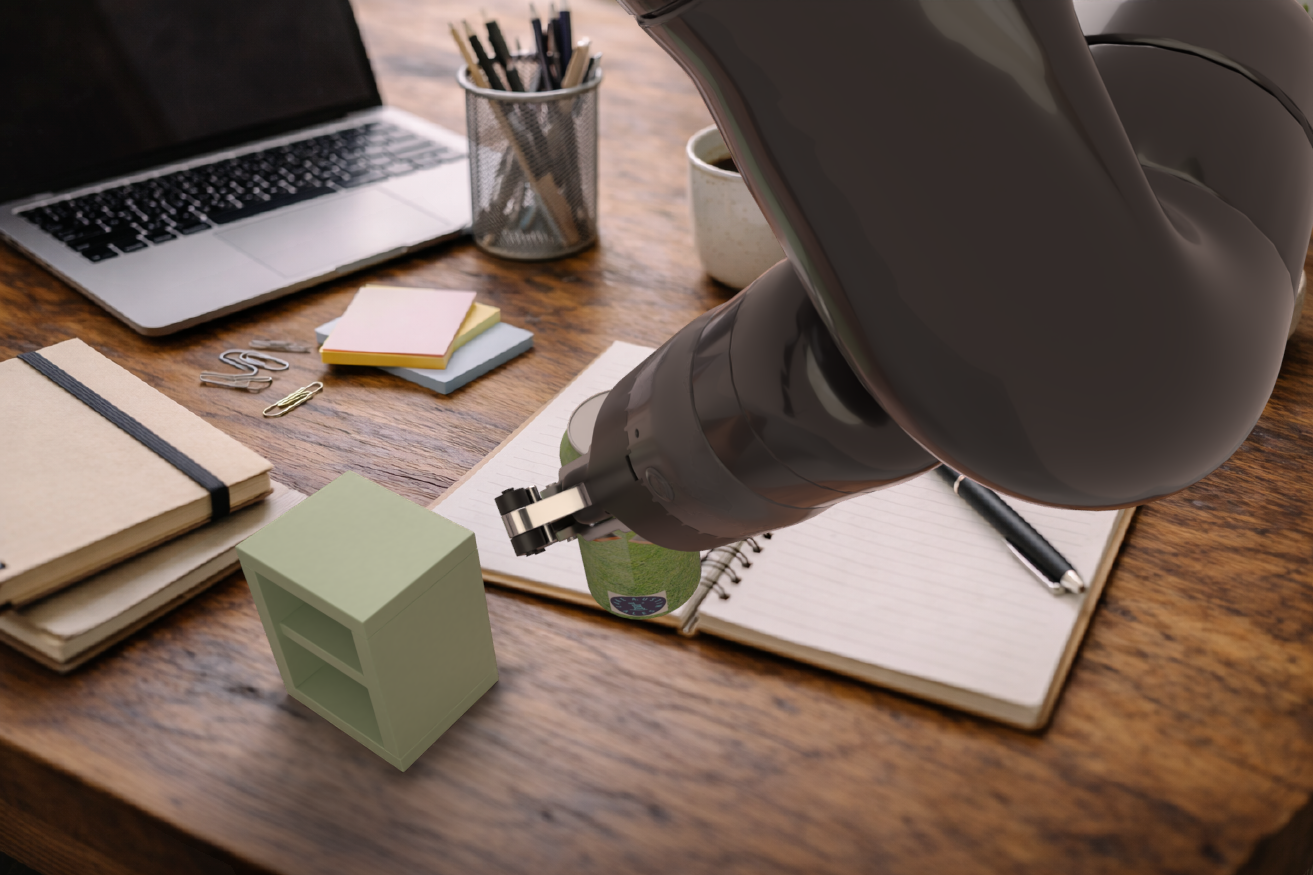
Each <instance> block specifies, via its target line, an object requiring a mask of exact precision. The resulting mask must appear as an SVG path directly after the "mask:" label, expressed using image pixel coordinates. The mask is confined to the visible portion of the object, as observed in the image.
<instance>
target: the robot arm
mask: <svg viewBox="0 0 1313 875" xmlns="http://www.w3.org/2000/svg"><path fill="white" fill-rule="evenodd" d="M615 1H616V2H617V3H618V5H619V6H620V7H621V8H622V9H623V10H624V11H625V12H626V13H627V14H628V15H629V16H632V17H633V18H634V20H635V21H636V23H637V25H638V27H639V28H640V29H641V30H643V31H644V33H646V35H648V36H649V38H651V39H652V40H653V41H654V42H655V43H656V44H657V46H659V47H660V48H661V49H662V50H663V51H664V52H665V53H666V54H667V55H668V56H669V57H670V58H671V59H672V60H673V61H674V62H675V63H676V64H677V65H678V66H679V67H680V68H681V70H682V71H683V72H684V74H685V75H686V76H687V78H688V79H689V80H690V82H691V83H692V85H693V86H694V88H695V90H696V91H697V93H698V94H699V96H700V98H701V100H702V102H703V103H704V105H705V107H706V109H707V112H708V113H709V115H710V117H711V119H712V121H713V122H714V124H715V126H716V128H717V131H718V132H719V134H720V137H721V139H722V141H723V143H724V145H725V147H726V149H727V151H728V153H729V155H730V157H731V159H732V161H733V163H734V165H735V167H736V169H737V171H738V174H739V175H740V177H741V179H742V181H743V183H744V185H745V186H746V188H747V190H748V191H749V194H750V196H751V197H752V199H753V200H754V202H755V204H756V206H757V207H758V209H759V210H760V212H761V213H762V215H763V217H764V219H765V221H766V223H767V224H768V226H769V227H770V229H771V231H772V233H773V235H774V237H775V239H776V240H777V243H778V244H779V246H780V247H781V250H782V251H783V253H784V257H782V258H780V259H778V261H777V262H774V264H772V265H771V266H770V267H768V268H767V269H766V270H765V271H764V272H762V273H761V274H760V275H759V276H757V277H756V278H755V279H754V280H752V281H751V282H750V283H748V284H747V285H746V286H745V287H744V288H743V289H741V290H740V291H739V292H738V293H737V294H735V295H734V296H733V297H732V298H730V299H729V300H727V301H726V302H723V303H721V304H719V305H716V306H715V307H712V308H711V309H708V310H707V311H705V312H704V313H701V314H700V315H699V316H697V317H695V318H694V319H693V320H691V321H690V322H688V323H687V324H686V325H685V326H683V327H682V328H680V330H678V331H677V332H676V333H675V334H673V335H672V336H671V337H670V338H669V339H667V340H666V341H665V342H664V343H662V345H660V346H659V347H658V348H657V349H656V350H654V351H653V352H652V353H651V354H650V355H649V356H647V357H646V358H644V359H643V360H642V361H641V362H640V363H639V364H637V366H635V367H633V368H632V370H630V371H629V372H628V373H626V375H624V376H623V377H622V378H621V379H620V380H619V381H617V383H616V384H615V385H614V386H613V387H612V388H611V389H612V390H611V391H610V392H609V394H608V395H607V397H606V398H605V400H604V402H603V404H602V406H601V408H600V410H599V413H598V415H597V418H596V421H595V425H594V430H593V435H592V442H591V445H590V446H589V450H588V452H587V453H586V454H584V455H583V456H581V457H579V458H577V459H575V460H574V461H572V462H570V463H568V464H566V465H565V466H563V467H562V466H561V467H560V468H559V469H558V474H557V475H558V481H557V482H551V483H549V484H547V485H545V488H544V489H542V490H541V491H539V490H538V487H537V485H535V484H533V485H529V486H528V487H519V488H514V487H509V488H506V489H504V490H502V491H501V492H500V493H501V495H498V496H496V497H495V498H493V500H494V502H495V505H496V507H497V510H498V513H499V515H500V518H501V521H502V524H503V525H504V528H505V531H506V533H507V536H508V539H509V541H510V543H511V546H512V549H513V551H514V554H515V556H516V557H517V558H518V557H524V556H525V557H526V558H527V557H530V556H533V555H534V556H537V555H539V554H542V553H544V552H546V551H547V550H546V548H548V547H550V546H552V545H554V544H556V543H561V542H564V541H567V543H570V542H573V541H575V540H578V537H577V535H579V534H580V535H581V536H582V537H583V538H584V539H585V540H586V541H588V542H590V541H593V540H595V539H598V538H600V537H603V536H605V535H607V534H610V533H612V532H615V531H617V530H620V531H622V532H623V533H628V532H630V531H633V532H634V533H636V534H637V535H639V536H640V537H642V538H643V539H645V540H647V541H649V542H651V543H653V544H655V545H658V546H661V547H663V548H667V549H671V550H676V551H684V552H697V551H700V552H704V551H710V550H713V549H718V548H721V547H725V546H728V545H731V544H734V543H739V542H741V541H745V540H749V539H752V538H756V537H758V536H762V535H764V534H765V535H766V534H768V533H772V532H775V531H779V530H782V529H786V528H790V527H793V526H796V525H799V524H801V523H804V522H807V521H808V520H811V519H814V518H816V517H817V516H820V515H821V514H822V513H825V511H827V510H829V509H831V508H832V507H833V506H835V505H837V504H840V503H842V502H843V503H844V502H846V501H849V500H852V499H855V498H859V497H862V496H866V495H868V494H871V493H875V492H879V491H883V490H886V489H890V488H893V487H896V486H900V485H902V484H904V483H908V482H910V481H913V480H915V479H917V478H919V477H921V476H923V475H925V474H928V473H929V472H931V471H933V470H935V469H938V468H939V467H941V466H943V465H945V466H946V467H948V468H949V469H951V470H953V471H954V472H956V473H958V474H959V475H961V476H962V477H965V478H967V479H968V480H970V481H971V482H974V483H976V484H977V485H980V486H982V487H984V488H986V489H988V490H990V491H993V492H995V493H997V494H999V495H1003V496H1005V497H1008V498H1011V499H1014V500H1018V501H1020V502H1024V503H1026V504H1030V505H1035V506H1039V507H1044V508H1048V509H1049V508H1050V509H1055V510H1056V509H1057V510H1061V511H1062V510H1063V511H1064V510H1065V511H1066V510H1067V511H1081V512H1112V511H1120V510H1126V509H1132V508H1135V507H1139V506H1144V505H1147V504H1151V503H1155V502H1158V501H1163V500H1165V499H1168V498H1171V497H1172V496H1175V495H1178V494H1180V493H1181V492H1184V491H1185V490H1187V489H1189V488H1191V487H1193V486H1194V485H1196V484H1198V483H1199V482H1201V481H1202V480H1204V479H1205V478H1207V477H1208V476H1209V475H1211V474H1212V473H1214V472H1215V471H1216V470H1218V469H1219V468H1220V467H1222V466H1223V465H1224V464H1225V463H1226V462H1227V461H1228V460H1229V459H1230V458H1231V457H1232V456H1233V455H1234V454H1235V453H1236V452H1237V451H1238V449H1240V447H1241V446H1242V445H1243V444H1244V443H1245V441H1246V440H1247V438H1248V437H1249V435H1250V434H1251V432H1252V431H1253V430H1254V428H1255V427H1256V425H1257V424H1258V422H1259V420H1260V418H1261V415H1262V414H1263V411H1264V410H1265V407H1266V405H1267V404H1268V401H1269V399H1270V397H1271V396H1272V393H1273V391H1274V388H1275V385H1276V382H1277V379H1278V377H1279V373H1280V370H1281V368H1282V362H1283V359H1284V354H1285V350H1286V346H1287V342H1288V338H1289V333H1290V329H1291V324H1292V320H1293V315H1294V311H1295V307H1296V303H1297V298H1298V294H1299V289H1300V284H1301V280H1302V276H1303V271H1304V267H1305V262H1306V258H1307V254H1308V250H1309V244H1310V240H1311V235H1312V232H1313V18H1312V17H1311V15H1310V14H1309V13H1308V12H1307V10H1306V9H1305V7H1304V6H1303V5H1302V4H1301V3H1300V2H1299V1H1298V0H615ZM613 516H614V517H615V518H613Z"/></svg>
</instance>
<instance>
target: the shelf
mask: <svg viewBox="0 0 1313 875" xmlns="http://www.w3.org/2000/svg"><path fill="white" fill-rule="evenodd" d="M234 549H235V551H236V554H237V557H238V560H239V563H240V567H241V570H242V572H243V575H244V577H245V580H246V583H247V586H248V588H249V592H250V594H251V597H252V600H253V602H254V605H255V608H256V611H257V613H258V616H259V619H260V621H261V625H262V627H263V630H264V633H265V636H266V639H267V641H268V644H269V647H270V649H271V653H272V655H273V658H274V661H275V663H276V667H277V670H278V671H279V676H280V678H281V680H282V683H283V686H284V687H285V691H286V693H287V694H288V695H289V696H291V697H292V698H293V699H295V700H297V701H298V702H299V703H300V704H302V705H304V706H305V707H307V708H308V709H310V710H311V711H313V712H314V713H315V714H317V715H319V716H320V717H321V718H322V719H324V720H325V721H327V722H329V723H330V724H331V725H332V726H334V727H336V728H337V729H339V730H340V731H342V732H343V733H345V734H346V735H348V736H349V737H350V738H352V739H354V740H355V741H356V742H358V743H359V744H361V745H362V746H364V747H365V748H367V749H368V750H369V751H371V752H373V753H374V754H375V755H377V756H378V757H380V758H381V759H382V760H384V761H386V762H387V763H388V764H390V765H391V766H393V767H395V768H396V769H397V770H399V771H400V772H402V773H405V772H406V771H407V770H408V769H409V768H410V767H411V766H412V765H413V764H414V763H415V762H416V761H417V760H418V759H419V758H420V757H421V756H422V755H423V754H424V753H425V752H426V751H427V750H428V749H429V748H431V746H432V745H434V743H436V741H438V740H439V739H440V738H441V737H442V736H443V735H444V734H445V733H446V732H447V731H448V730H449V729H450V728H451V727H452V726H453V725H454V724H455V723H456V722H457V721H458V720H459V719H460V718H462V716H463V715H464V714H466V712H467V711H469V709H471V708H472V707H473V705H475V704H476V703H477V702H478V701H479V700H480V699H481V698H482V697H483V696H484V695H485V694H486V693H487V692H488V691H489V690H490V689H491V688H492V687H493V686H494V685H495V684H496V683H497V682H498V681H499V680H500V676H499V675H500V674H499V668H498V662H497V657H496V651H495V644H494V639H493V633H492V626H491V620H490V615H489V608H488V603H487V596H486V591H485V585H484V578H483V572H482V567H481V559H480V554H479V548H478V543H477V538H476V533H475V532H474V531H473V530H471V529H469V528H468V527H465V526H463V525H461V524H458V522H455V521H452V520H451V519H448V518H447V517H445V516H443V515H441V514H438V513H436V512H435V511H433V510H431V509H429V508H427V507H425V506H423V505H421V504H419V503H417V502H416V501H413V500H410V499H409V498H407V497H405V496H403V495H401V494H398V493H397V492H395V491H393V490H391V489H389V488H386V487H385V486H383V485H381V484H379V483H377V482H375V481H373V480H371V479H369V478H367V477H365V476H364V475H361V474H359V473H358V472H355V471H353V470H351V469H348V470H346V471H345V472H344V473H342V474H340V475H339V476H338V477H336V478H335V479H333V480H332V481H330V482H329V483H327V484H326V485H324V486H323V487H321V488H319V489H318V490H317V491H315V492H314V493H312V494H311V495H309V496H308V497H306V498H304V500H302V501H301V502H299V503H297V504H296V505H294V506H293V507H291V508H290V509H288V510H287V511H286V512H284V513H282V514H281V515H280V516H278V517H276V518H274V519H273V520H272V521H270V522H269V523H268V524H266V525H265V526H263V527H262V528H260V529H259V530H257V531H256V532H254V533H252V534H251V535H250V536H248V537H246V538H245V539H244V540H242V541H241V542H239V543H237V544H235V546H234Z"/></svg>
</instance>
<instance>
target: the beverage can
mask: <svg viewBox="0 0 1313 875" xmlns="http://www.w3.org/2000/svg"><path fill="white" fill-rule="evenodd" d="M612 389H613V388H611V389H606V390H603V391H600V392H597V393H595V394H593V395H590V396H589V397H587V398H586V399H584V400H583V401H582V402H581V403H579V404H578V405H577V406H576V407H575V409H574V410H573V411H572V412H571V414H570V416H569V418H568V421H567V424H566V429H565V431H564V433H563V435H562V437H561V441H560V444H559V454H558V456H559V461H560V466H561V467H563V466H565V465H566V464H568V463H570V462H572V461H574V460H575V459H577V458H579V457H581V456H583V455H584V454H586V453H587V452H588V450H589V446H590V445H591V442H592V435H593V430H594V425H595V421H596V418H597V415H598V413H599V410H600V408H601V406H602V404H603V402H604V400H605V398H606V397H607V395H608V394H609V392H610V391H611V390H612ZM613 518H615V517H614V516H613ZM577 537H578V538H577V542H578V547H579V550H580V551H579V552H580V556H581V561H582V565H583V570H584V574H585V578H586V583H587V588H588V590H589V593H590V595H591V596H592V598H593V599H594V601H595V602H596V604H598V605H599V607H601V608H602V609H604V610H606V611H607V612H609V613H610V614H612V615H615V616H617V617H621V618H625V619H629V620H650V619H651V620H652V619H655V618H659V617H663V616H665V615H668V614H671V613H672V612H674V611H676V610H678V609H679V608H681V607H683V605H685V604H686V603H687V602H688V601H689V600H690V599H691V598H692V597H693V595H694V594H695V592H696V591H697V589H698V587H699V584H700V582H701V579H702V572H703V570H702V558H701V551H697V552H684V551H676V550H671V549H667V548H663V547H661V546H658V545H655V544H653V543H651V542H649V541H647V540H645V539H643V538H642V537H640V536H639V535H637V534H636V533H634V532H633V531H630V532H628V533H623V532H622V531H620V530H617V531H615V532H612V533H610V534H607V535H605V536H603V537H600V538H598V539H595V540H593V541H590V542H588V541H586V540H585V539H584V538H583V537H582V536H581V535H580V534H579V535H577Z"/></svg>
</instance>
